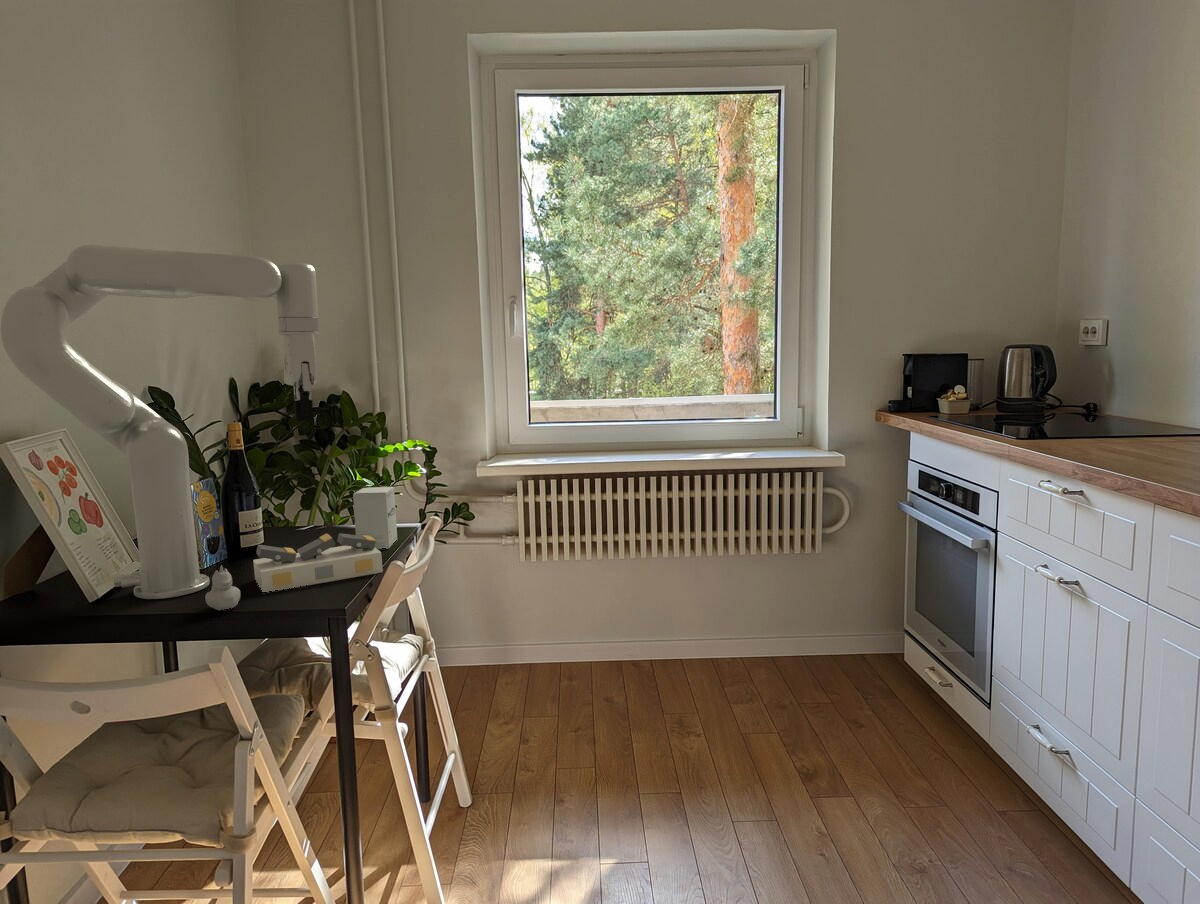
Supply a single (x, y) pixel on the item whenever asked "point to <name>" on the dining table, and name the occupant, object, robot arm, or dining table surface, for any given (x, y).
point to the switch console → (317, 568)
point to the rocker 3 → (356, 541)
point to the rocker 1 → (276, 553)
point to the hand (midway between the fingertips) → (304, 420)
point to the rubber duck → (222, 591)
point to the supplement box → (376, 515)
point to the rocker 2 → (316, 547)
